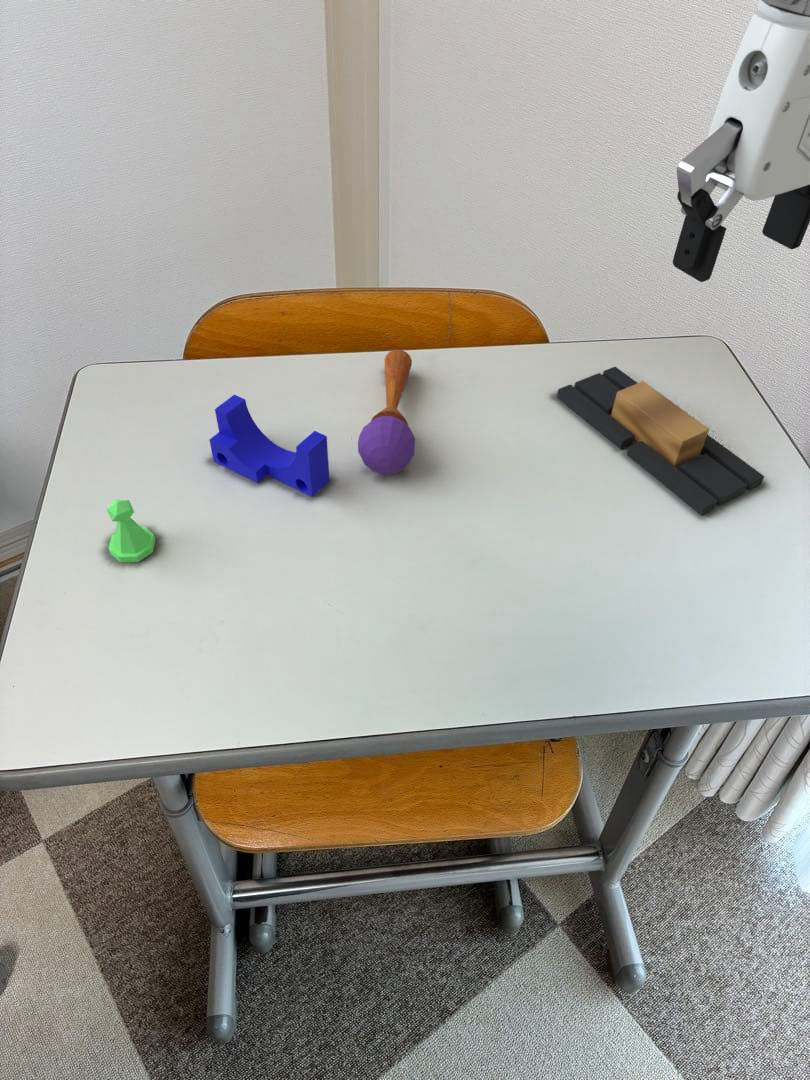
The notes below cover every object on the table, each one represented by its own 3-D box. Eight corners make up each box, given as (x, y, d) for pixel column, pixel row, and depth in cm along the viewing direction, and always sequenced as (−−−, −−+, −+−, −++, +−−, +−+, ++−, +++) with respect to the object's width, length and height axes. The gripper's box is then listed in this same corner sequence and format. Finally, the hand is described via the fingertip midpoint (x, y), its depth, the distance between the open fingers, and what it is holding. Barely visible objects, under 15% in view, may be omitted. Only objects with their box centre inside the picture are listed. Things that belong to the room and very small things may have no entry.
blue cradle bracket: (213, 461, 85) (204, 416, 81) (241, 438, 88) (234, 394, 83) (303, 505, 81) (298, 461, 76) (329, 480, 83) (326, 436, 79)
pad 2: (761, 484, 84) (765, 476, 84) (701, 515, 81) (704, 507, 80) (685, 427, 91) (688, 419, 90) (626, 454, 87) (629, 446, 86)
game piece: (161, 554, 76) (147, 510, 71) (115, 569, 74) (98, 524, 70) (150, 525, 78) (136, 480, 74) (105, 538, 77) (89, 493, 73)
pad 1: (678, 423, 91) (681, 414, 90) (620, 449, 88) (622, 441, 87) (613, 374, 98) (615, 366, 97) (556, 397, 94) (558, 388, 93)
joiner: (698, 457, 87) (709, 429, 84) (672, 470, 86) (682, 441, 83) (635, 409, 93) (643, 380, 90) (609, 420, 91) (617, 391, 88)
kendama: (428, 345, 94) (419, 445, 79) (416, 388, 98) (406, 490, 83) (378, 334, 93) (360, 432, 78) (369, 377, 97) (350, 478, 82)
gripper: (784, 20, 42) (691, 311, 54) (973, -17, 48) (851, 250, 61) (680, -13, 46) (616, 264, 59) (867, -43, 53) (773, 211, 65)
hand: (736, 256), depth 60 cm, fingers open, 9 cm apart
